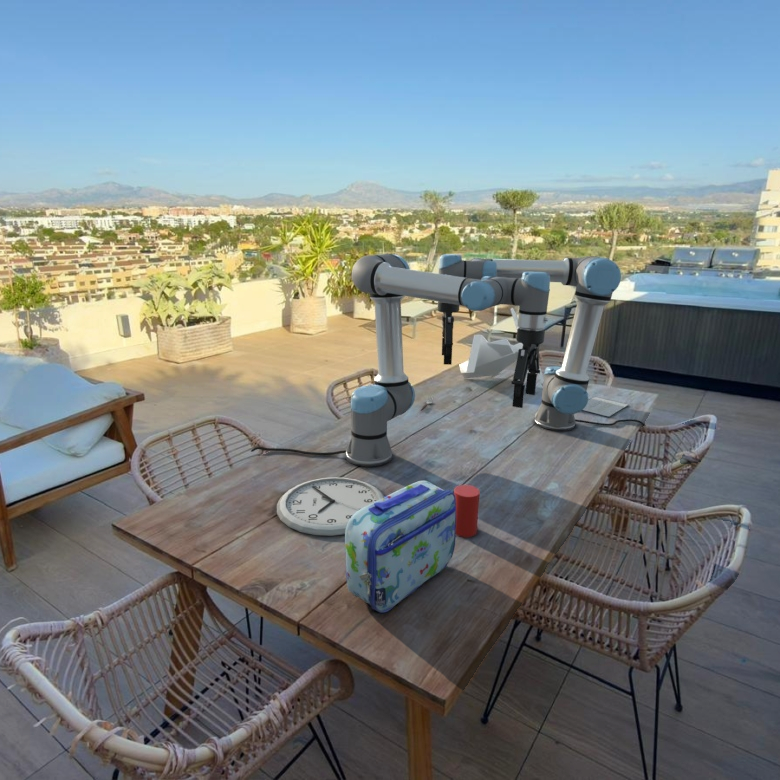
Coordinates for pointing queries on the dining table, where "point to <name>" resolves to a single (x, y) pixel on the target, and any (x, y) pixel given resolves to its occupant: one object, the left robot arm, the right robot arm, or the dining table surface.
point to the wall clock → (325, 504)
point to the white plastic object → (492, 356)
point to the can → (466, 510)
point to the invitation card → (603, 406)
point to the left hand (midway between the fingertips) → (523, 400)
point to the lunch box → (399, 543)
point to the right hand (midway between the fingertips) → (446, 359)
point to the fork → (427, 403)
